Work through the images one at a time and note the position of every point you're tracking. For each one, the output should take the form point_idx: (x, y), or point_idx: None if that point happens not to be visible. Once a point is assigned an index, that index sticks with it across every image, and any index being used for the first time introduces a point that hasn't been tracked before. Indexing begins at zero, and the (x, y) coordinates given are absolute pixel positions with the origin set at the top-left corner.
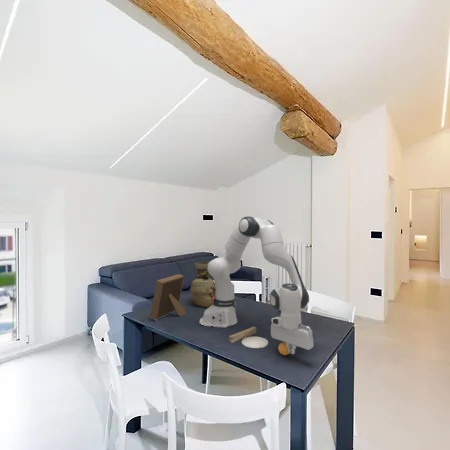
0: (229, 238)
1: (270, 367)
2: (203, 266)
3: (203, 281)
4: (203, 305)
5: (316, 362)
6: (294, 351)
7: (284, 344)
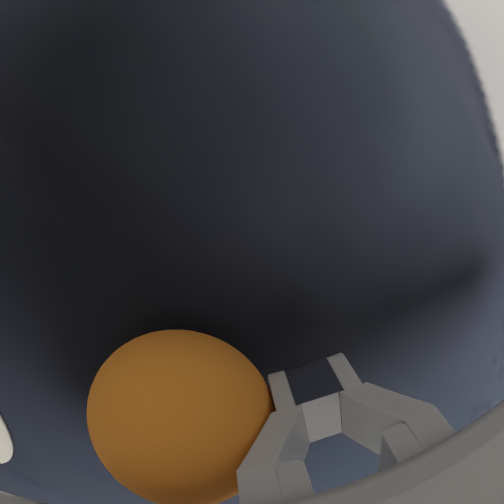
0: None
1: None
2: None
3: None
4: None
5: (478, 177)
6: (351, 373)
7: (221, 501)
